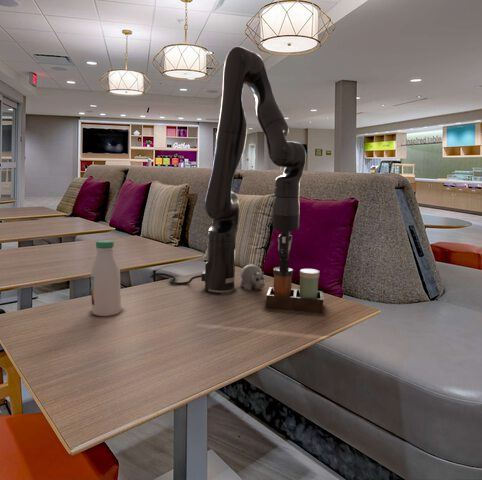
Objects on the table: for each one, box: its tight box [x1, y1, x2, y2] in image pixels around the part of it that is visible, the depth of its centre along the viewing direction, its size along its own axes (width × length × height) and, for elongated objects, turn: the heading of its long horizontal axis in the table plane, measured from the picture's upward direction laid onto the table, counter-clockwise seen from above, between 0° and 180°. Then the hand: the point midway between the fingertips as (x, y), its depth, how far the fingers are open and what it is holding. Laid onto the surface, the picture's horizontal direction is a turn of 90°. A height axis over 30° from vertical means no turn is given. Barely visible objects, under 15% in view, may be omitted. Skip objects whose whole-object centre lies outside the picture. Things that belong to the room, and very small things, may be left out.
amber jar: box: [272, 266, 294, 296], centre depth 123 cm, size 6×6×11 cm
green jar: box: [299, 268, 321, 299], centre depth 121 cm, size 6×6×11 cm
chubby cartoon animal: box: [239, 264, 266, 291], centre depth 138 cm, size 7×12×8 cm, turn 20°
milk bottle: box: [90, 239, 122, 317], centre depth 114 cm, size 8×8×20 cm
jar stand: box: [265, 286, 324, 315], centre depth 123 cm, size 16×8×5 cm, turn 79°
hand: (284, 268), depth 122 cm, fingers open, 8 cm apart
